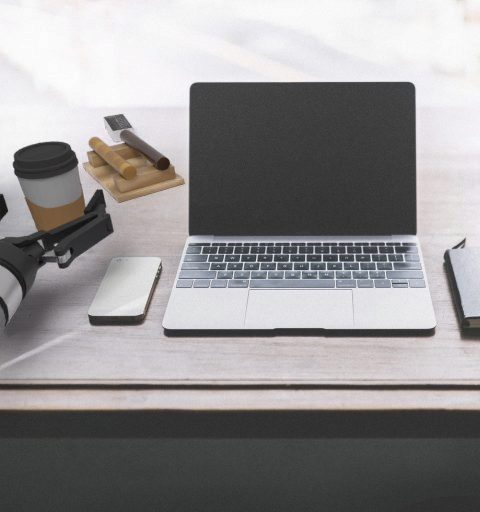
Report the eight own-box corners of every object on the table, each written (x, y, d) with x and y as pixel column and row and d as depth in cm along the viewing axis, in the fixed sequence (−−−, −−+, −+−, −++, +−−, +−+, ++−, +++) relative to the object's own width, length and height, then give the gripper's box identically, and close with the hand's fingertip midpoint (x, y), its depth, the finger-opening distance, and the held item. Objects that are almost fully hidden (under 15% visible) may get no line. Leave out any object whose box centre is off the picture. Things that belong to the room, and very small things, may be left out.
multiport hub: (114, 142, 128) (112, 131, 127) (104, 126, 136) (102, 116, 135) (135, 138, 130) (133, 127, 128) (125, 123, 138) (123, 113, 137)
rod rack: (184, 183, 109) (180, 153, 106) (118, 202, 103) (111, 171, 100) (143, 152, 123) (138, 125, 120) (83, 167, 117) (76, 139, 114)
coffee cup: (109, 245, 91) (85, 149, 83) (54, 268, 86) (24, 168, 78) (82, 227, 96) (58, 135, 88) (29, 248, 91) (-2, 152, 83)
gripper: (-113, 319, 69) (-30, 228, 88) (110, 308, 70) (147, 220, 88) (-141, 262, 66) (-48, 179, 84) (95, 251, 66) (137, 171, 84)
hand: (52, 200), depth 86 cm, fingers open, 13 cm apart
